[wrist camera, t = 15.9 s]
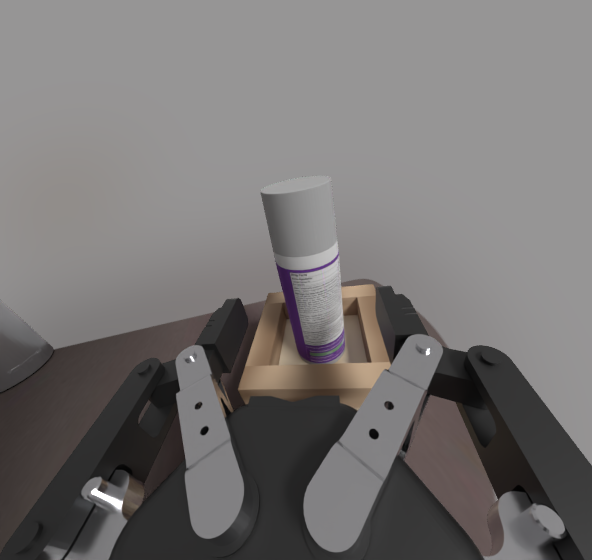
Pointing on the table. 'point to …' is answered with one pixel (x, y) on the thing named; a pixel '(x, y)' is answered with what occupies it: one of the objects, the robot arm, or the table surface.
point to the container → (308, 264)
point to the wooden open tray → (316, 377)
